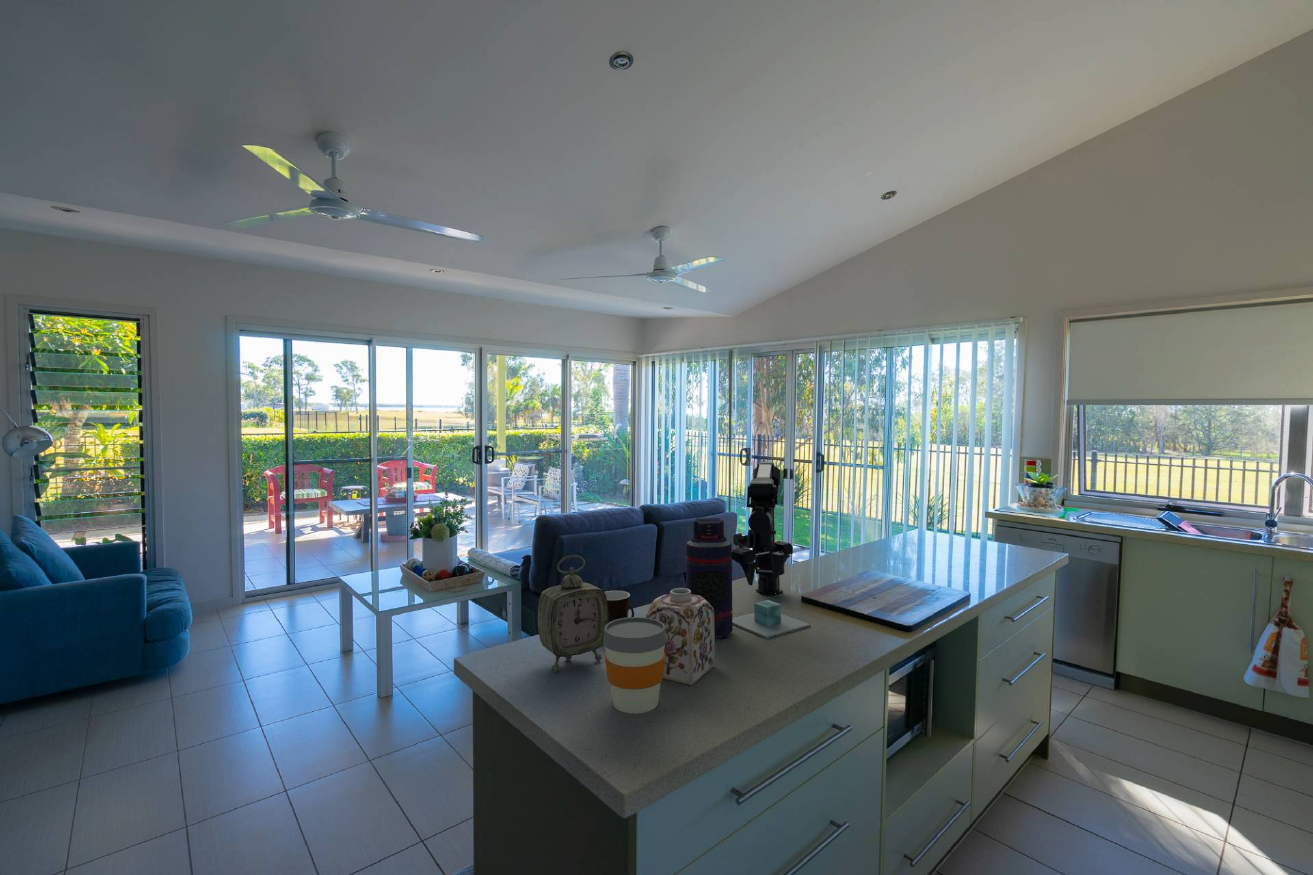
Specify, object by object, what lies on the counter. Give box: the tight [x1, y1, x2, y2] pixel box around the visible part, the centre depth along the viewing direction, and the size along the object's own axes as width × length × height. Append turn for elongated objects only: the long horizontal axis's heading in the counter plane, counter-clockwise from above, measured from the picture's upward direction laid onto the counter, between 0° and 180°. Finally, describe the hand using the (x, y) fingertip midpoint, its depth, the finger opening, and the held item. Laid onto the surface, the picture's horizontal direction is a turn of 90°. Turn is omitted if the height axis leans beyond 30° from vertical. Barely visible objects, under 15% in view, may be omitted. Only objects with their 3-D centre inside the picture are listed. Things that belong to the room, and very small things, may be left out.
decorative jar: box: [645, 587, 716, 686], centre depth 130 cm, size 12×12×18 cm
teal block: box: [753, 599, 782, 626], centre depth 160 cm, size 5×5×5 cm
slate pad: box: [732, 612, 811, 640], centre depth 160 cm, size 16×16×1 cm
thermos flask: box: [685, 517, 734, 641], centre depth 153 cm, size 14×12×30 cm
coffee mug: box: [604, 590, 635, 623], centre depth 153 cm, size 12×9×10 cm
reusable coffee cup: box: [603, 616, 667, 714], centre depth 115 cm, size 13×13×15 cm
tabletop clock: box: [537, 554, 609, 673], centre depth 135 cm, size 14×9×25 cm, turn 123°
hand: (762, 582), depth 162 cm, fingers open, 9 cm apart
